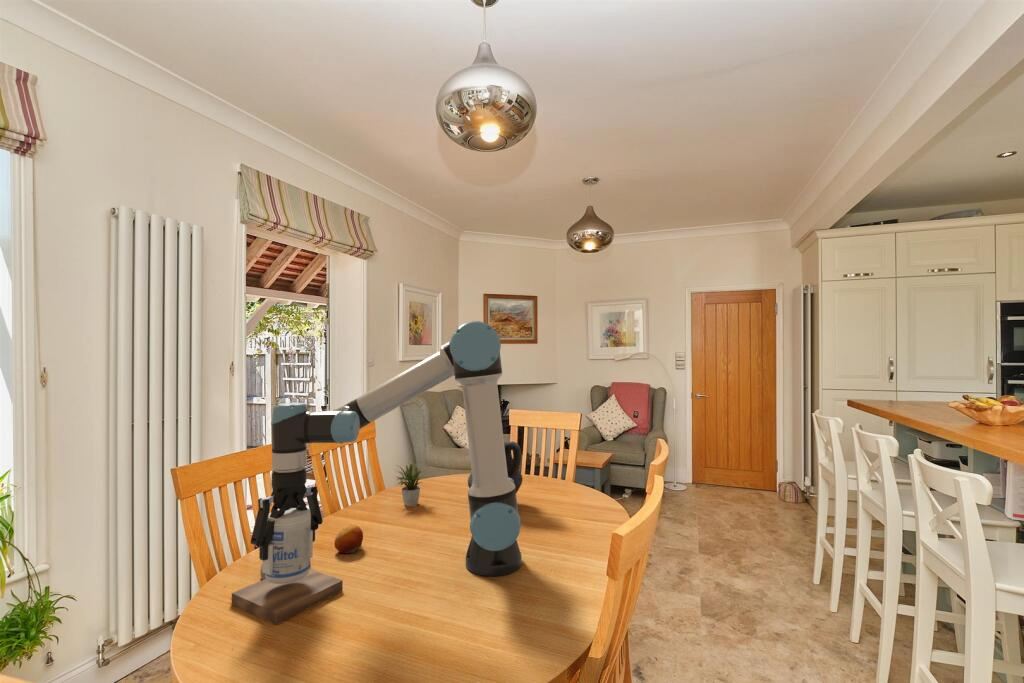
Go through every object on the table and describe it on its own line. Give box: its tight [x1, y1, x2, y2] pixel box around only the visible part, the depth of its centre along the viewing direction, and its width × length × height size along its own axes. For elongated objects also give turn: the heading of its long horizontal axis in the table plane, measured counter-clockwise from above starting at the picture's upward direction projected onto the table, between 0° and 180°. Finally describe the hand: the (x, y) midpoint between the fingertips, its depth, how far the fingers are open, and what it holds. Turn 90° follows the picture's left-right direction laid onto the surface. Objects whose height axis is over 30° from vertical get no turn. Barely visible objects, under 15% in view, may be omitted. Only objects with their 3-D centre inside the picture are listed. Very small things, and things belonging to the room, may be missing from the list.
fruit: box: [334, 525, 364, 554], centre depth 140 cm, size 8×8×8 cm
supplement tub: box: [265, 507, 311, 584], centre depth 113 cm, size 10×10×15 cm
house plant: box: [395, 461, 427, 507], centre depth 184 cm, size 14×14×16 cm
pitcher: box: [467, 441, 523, 494], centre depth 179 cm, size 21×22×25 cm
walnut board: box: [231, 568, 343, 626], centre depth 112 cm, size 17×17×2 cm
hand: (288, 564), depth 112 cm, fingers closed on supplement tub, 10 cm apart
